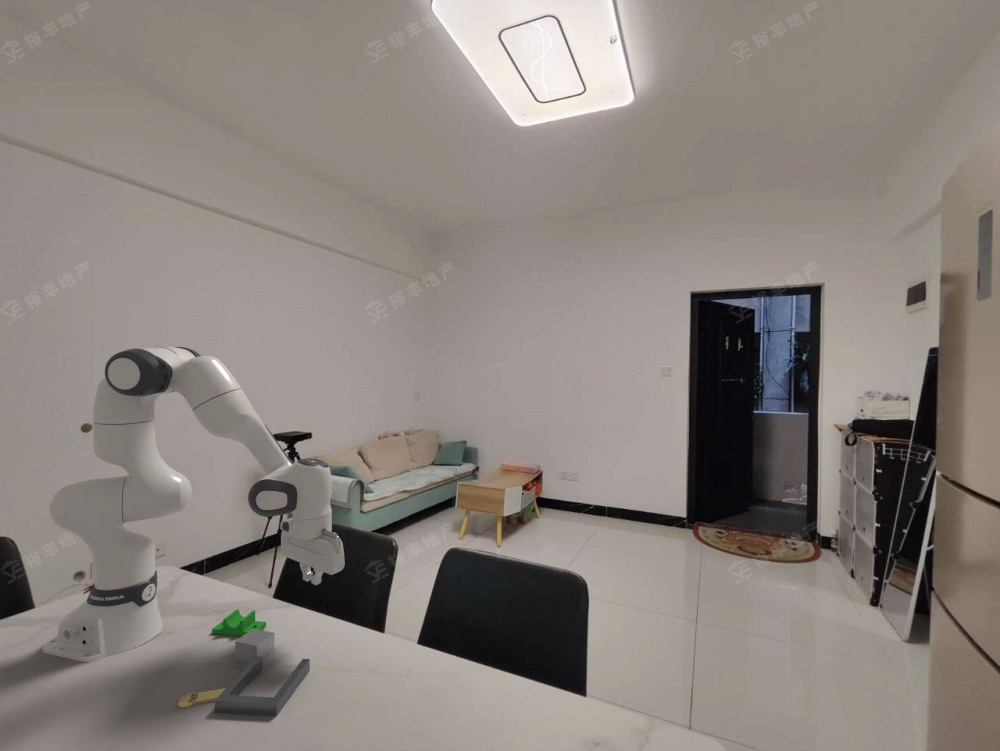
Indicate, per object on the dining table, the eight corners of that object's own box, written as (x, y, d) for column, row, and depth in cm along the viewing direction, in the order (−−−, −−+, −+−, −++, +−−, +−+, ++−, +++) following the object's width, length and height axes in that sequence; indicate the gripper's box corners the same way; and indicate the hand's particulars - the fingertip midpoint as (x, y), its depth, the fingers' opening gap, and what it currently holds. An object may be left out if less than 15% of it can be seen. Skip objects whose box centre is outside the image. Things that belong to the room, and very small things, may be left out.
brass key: (175, 712, 82) (175, 706, 82) (182, 700, 85) (182, 694, 85) (222, 704, 84) (222, 697, 84) (227, 692, 87) (227, 686, 87)
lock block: (234, 661, 96) (235, 641, 96) (253, 647, 101) (253, 628, 101) (256, 666, 95) (257, 646, 95) (274, 652, 100) (274, 632, 100)
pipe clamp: (266, 611, 109) (254, 621, 105) (266, 626, 109) (254, 637, 105) (225, 608, 110) (211, 618, 106) (225, 623, 110) (211, 633, 106)
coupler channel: (214, 716, 81) (214, 700, 81) (255, 670, 93) (255, 656, 93) (276, 719, 80) (276, 703, 80) (309, 672, 93) (309, 658, 93)
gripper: (351, 530, 103) (350, 587, 103) (299, 514, 114) (299, 566, 114) (328, 538, 98) (328, 599, 98) (276, 521, 108) (276, 576, 109)
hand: (312, 581), depth 106 cm, fingers closed
